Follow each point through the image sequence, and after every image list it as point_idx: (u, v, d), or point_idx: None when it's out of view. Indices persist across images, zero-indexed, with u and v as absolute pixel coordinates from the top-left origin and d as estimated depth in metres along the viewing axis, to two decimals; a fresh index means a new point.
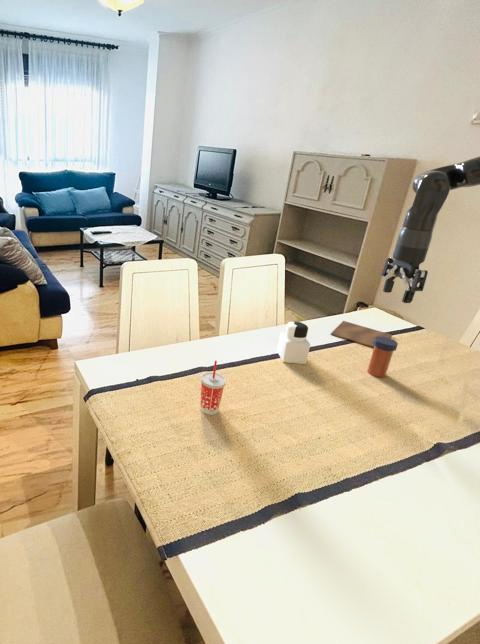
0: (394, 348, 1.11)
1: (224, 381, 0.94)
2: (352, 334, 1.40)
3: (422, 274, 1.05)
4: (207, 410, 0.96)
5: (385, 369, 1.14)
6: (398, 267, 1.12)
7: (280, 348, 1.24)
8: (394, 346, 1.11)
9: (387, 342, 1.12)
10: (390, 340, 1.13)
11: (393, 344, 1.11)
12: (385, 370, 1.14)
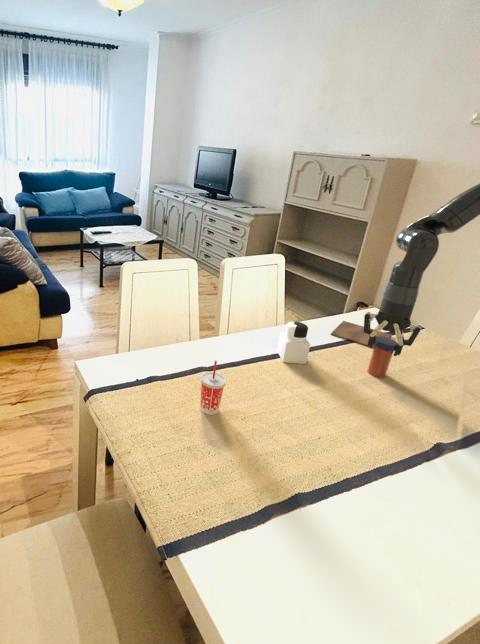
0: (394, 348, 1.11)
1: (224, 381, 0.94)
2: (352, 334, 1.40)
3: (419, 331, 1.07)
4: (207, 410, 0.96)
5: (385, 369, 1.14)
6: (388, 322, 1.10)
7: (280, 348, 1.24)
8: (394, 346, 1.11)
9: (387, 342, 1.12)
10: (390, 340, 1.13)
11: (393, 344, 1.11)
12: (385, 370, 1.14)
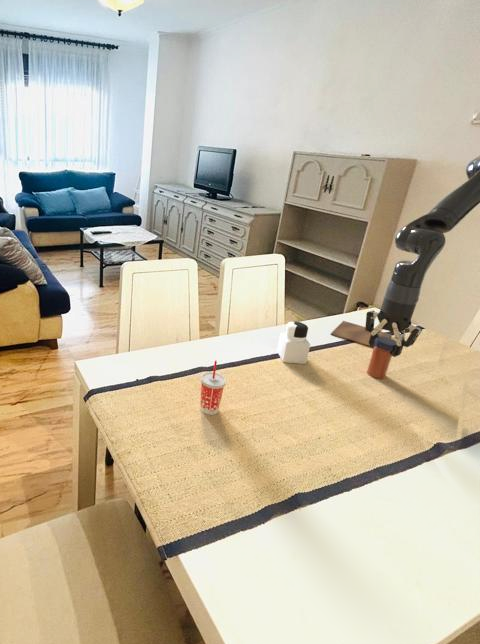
0: None
1: (224, 381, 0.94)
2: (352, 334, 1.40)
3: None
4: (207, 410, 0.96)
5: (386, 370, 1.13)
6: None
7: (280, 348, 1.24)
8: None
9: (386, 339, 1.13)
10: (381, 340, 1.12)
11: (381, 336, 1.14)
12: (385, 371, 1.13)
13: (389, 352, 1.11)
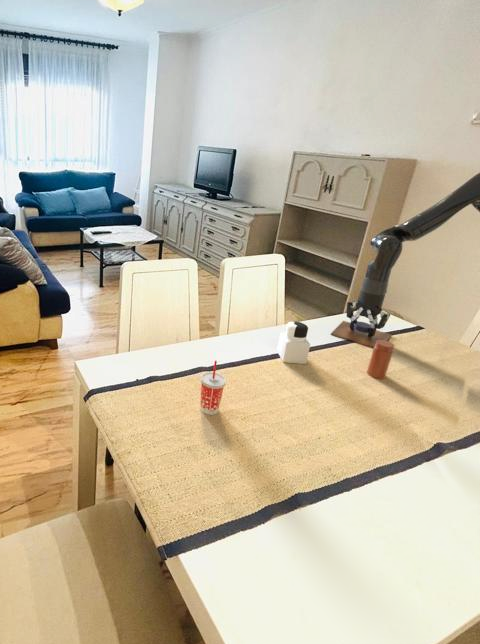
0: None
1: (224, 381, 0.94)
2: (352, 334, 1.40)
3: None
4: (207, 410, 0.96)
5: (386, 370, 1.13)
6: None
7: (280, 348, 1.24)
8: None
9: (363, 323, 1.40)
10: (359, 324, 1.40)
11: (359, 322, 1.42)
12: (385, 371, 1.13)
13: (389, 352, 1.11)
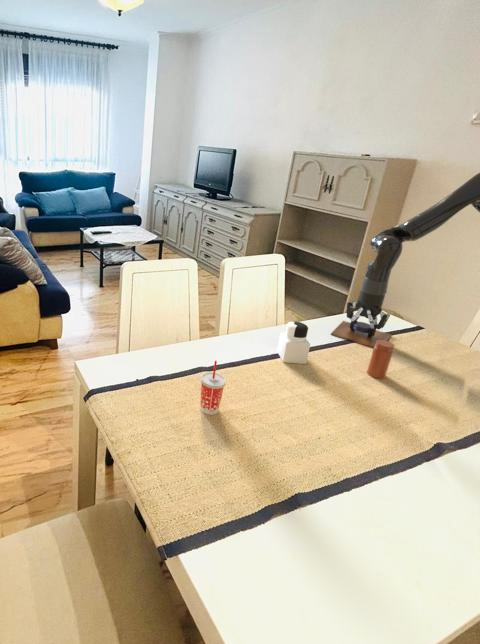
0: None
1: (224, 381, 0.94)
2: (352, 334, 1.40)
3: None
4: (207, 410, 0.96)
5: (386, 370, 1.13)
6: None
7: (280, 348, 1.24)
8: None
9: (363, 323, 1.41)
10: (359, 324, 1.40)
11: (359, 322, 1.42)
12: (385, 371, 1.13)
13: (389, 352, 1.11)
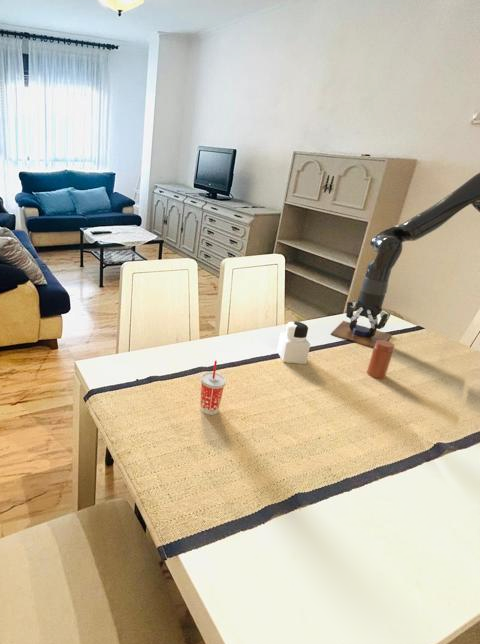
0: None
1: (224, 381, 0.94)
2: (352, 334, 1.40)
3: None
4: (207, 410, 0.96)
5: (386, 370, 1.13)
6: None
7: (280, 348, 1.24)
8: None
9: (362, 327, 1.41)
10: (358, 328, 1.40)
11: (358, 326, 1.42)
12: (385, 371, 1.13)
13: (389, 352, 1.11)
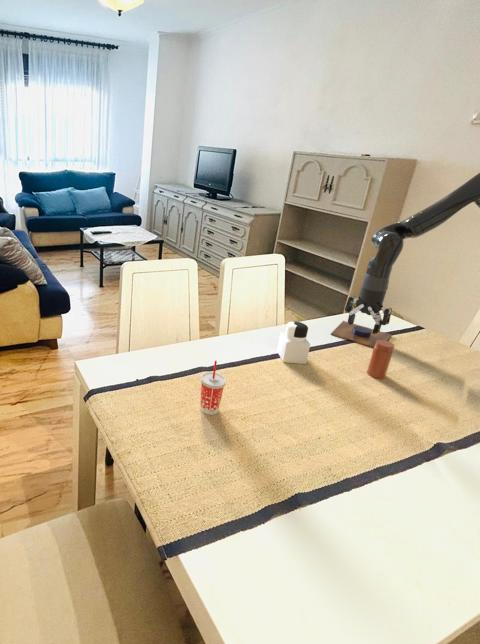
0: None
1: (224, 381, 0.94)
2: (352, 334, 1.40)
3: None
4: (207, 410, 0.96)
5: (386, 370, 1.13)
6: None
7: (280, 348, 1.24)
8: None
9: (362, 328, 1.41)
10: (358, 329, 1.40)
11: (358, 326, 1.42)
12: (385, 371, 1.13)
13: (389, 352, 1.11)
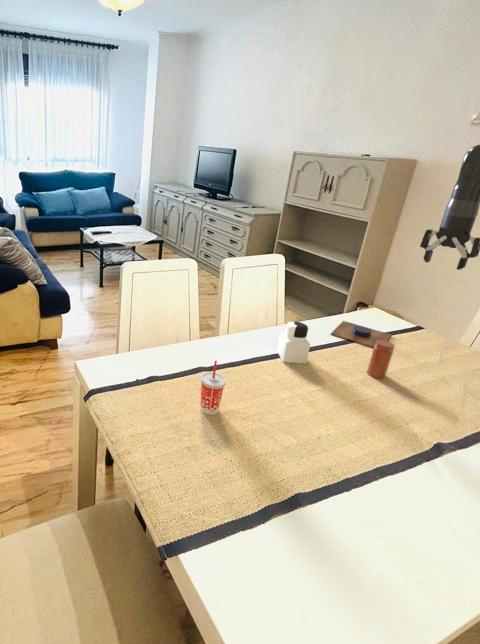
0: None
1: (224, 381, 0.94)
2: (352, 334, 1.40)
3: None
4: (207, 410, 0.96)
5: (386, 370, 1.13)
6: None
7: (280, 348, 1.24)
8: None
9: (362, 328, 1.41)
10: (358, 329, 1.40)
11: (358, 326, 1.42)
12: (385, 371, 1.13)
13: (389, 352, 1.11)
